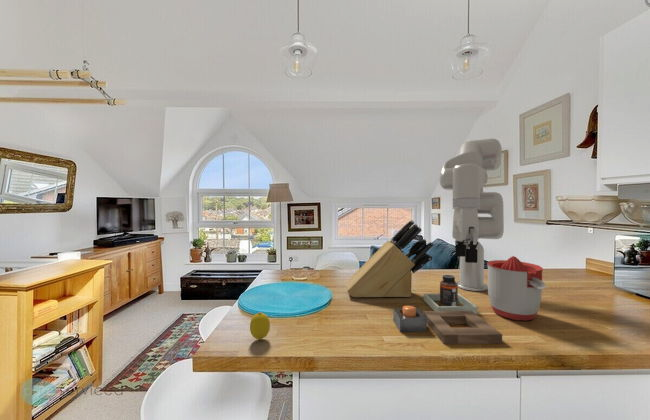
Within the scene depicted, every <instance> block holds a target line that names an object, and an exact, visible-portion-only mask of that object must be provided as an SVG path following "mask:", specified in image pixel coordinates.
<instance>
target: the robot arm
mask: <svg viewBox="0 0 650 420" xmlns="http://www.w3.org/2000/svg"><path fill="white" fill-rule="evenodd" d="M502 151H503V150H502V145H501V142H500V141H499V140H498V139H497V138H485V139H484V138H483V139H476V140H470V141H466V142H464V143H463V144H462V145H461V146H460V148H459V151H458V155H457V156H456V155H455V156H454V157H452V158H450V159H448V160H447V161H445V162H444V163H443V165H442V167H441V170H440V174H439V183H440V186H441V187H440V188H442V189H444V190H446V191H447V190H448V191H452V210H454V211H453V216H452V217H453V218H452V235H451V236H452V238H453V239H454V240H455V241H454V242H455V246H454V247H455V248H454V255H455V257H459V274H458V277H459V280H458V281H455V282H456V283H457V284H458V289H463V290H466V291H472V292H484V291H485V292H486V291H488V284H487V283H485V281H484V280H485V278H484V277H485V276H484V275H485V250H484V246H483V244H482V243H480V241H479V239H484V240H499V239H501V238H502V237H503V236H504V227H505V226H504V225H505V224H504V222H505V220H504V218H505V217H504V216H505V215H504V198H503V196H502V194H501V193H500V192H496V191H495V192H494V191H492V192H491V191H484V187H485V186H486V184H487V183H488V180H489V178H488V172H487V171H490V172H491V171H495V170H498V169H499V168H500V167H501V163H502ZM479 215H490V216H479Z"/></svg>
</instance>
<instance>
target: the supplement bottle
mask: <svg viewBox="0 0 650 420" xmlns="http://www.w3.org/2000/svg"><path fill="white" fill-rule="evenodd" d="M456 282H457V281H456V277H455V276H454V275H451V274H444V275H442V280H441V281H440V282H439V294H440V301H439V306H459V305H458V303H459V301H458V293H459V292H458V291H459V290H458V289H459V287H458V284H457V283H456Z"/></svg>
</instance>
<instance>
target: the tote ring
mask: <svg viewBox="0 0 650 420" xmlns="http://www.w3.org/2000/svg"><path fill="white" fill-rule="evenodd" d="M423 301H424V302H425V303H426V304H427V305H428V306H429V307H430V308H431V309H432V311H472V312H474V313H475V314H476V315H478V306H477V305H475V304H474V303H473V302H471V301H470V300H468V299H467V298H465V297H464V296H463V295H461V294H460V293H459V292H458V303H460V304H461V305H457V306H441V305H438V304H437V303H436V301H439V302H440V293H423Z"/></svg>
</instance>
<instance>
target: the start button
mask: <svg viewBox="0 0 650 420" xmlns="http://www.w3.org/2000/svg"><path fill="white" fill-rule="evenodd" d="M402 308H403V316H404V317H409V316H416V308H417V307H415V306H414V305H403V306H402Z"/></svg>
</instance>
